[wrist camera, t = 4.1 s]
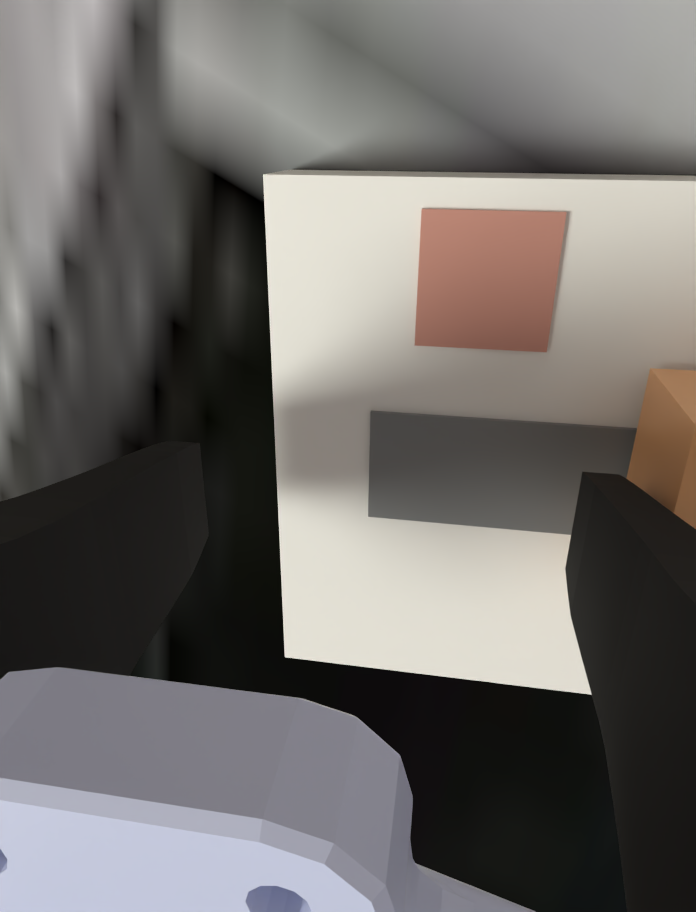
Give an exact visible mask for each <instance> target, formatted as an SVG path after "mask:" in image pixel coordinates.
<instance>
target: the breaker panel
mask: <svg viewBox="0 0 696 912" xmlns="http://www.w3.org/2000/svg"><path fill="white" fill-rule="evenodd" d="M263 182H264V204H265V226H266V249H267V271H268V293H269V315H270V337H271V359H272V381H273V404H274V426H275V448H276V470H277V492H278V514H279V537H280V559H281V581H282V603H283V625H284V647H285V657H288V658H296V659H304V660H313V661H321V662H329V663H337V664H345V665H354V666H362V667H370V668H378V669H386V670H395V671H403V672H411V673H419V674H427V675H436V676H444V677H452V678H460V679H468V680H477V681H485V682H493V683H501V684H509V685H518V686H526V687H534V688H542V689H550V690H559V691H567V692H575V693H583V694H591V690H590V686H589V683H588V679H587V675H586V672H585V668H584V664H583V661H582V657H581V653H580V650H579V646H578V642H577V638H576V635H575V631H574V627H573V623H572V619H571V615H570V607H569V599H568V591H567V581H566V572H565V567H566V561H567V555H568V550H569V544H570V539H571V533H572V527H573V522H574V516H575V510H576V505H577V499H578V494H579V488H580V482H581V477H582V472H594V473H607V474H619V475H621V476H623V477H625V478H627V474H628V469H629V464H630V460H631V455H632V450H633V446H634V441H635V436H636V432H637V427H638V422H639V418H640V413H641V408H642V404H643V399H644V394H645V390H646V385H647V380H648V376H649V371H650V368H656V369H675V370H693V371H696V176H689V175H621V174H553V173H485V172H416V171H348V170H286V171H280V172H274V173H268V174H263ZM591 695H592V694H591Z"/></svg>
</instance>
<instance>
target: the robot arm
mask: <svg viewBox="0 0 696 912" xmlns="http://www.w3.org/2000/svg"><path fill="white" fill-rule="evenodd" d="M208 536H209V531H208V521H207V512H206V502H205V492H204V482H203V472H202V463H201V453H200V443H191V442H177V441H167V442H162V443H159V444H155V445H152V446H149V447H147V448H144V449H141V450H139V451H136V452H133V453H131V454H128V455H126V456H124V457H121V458H119V459H116V460H114V461H111V462H109V463H106V464H104V465H101V466H99V467H97V468H94V469H92V470H89V471H87V472H84V473H82V474H79V475H76V476H74V477H71V478H68V479H66V480H63V481H60V482H57V483H55V484H52V485H49V486H47V487H44V488H41V489H39V490H36V491H33V492H30V493H27V494H24V495H21V496H18V497H15V498H11V499H8V500H5V501H1V502H0V912H535V911H533V910H530V909H528V908H525V907H523V906H520V905H518V904H515V903H513V902H510V901H508V900H505V899H503V898H500V897H498V896H495V895H493V894H490V893H488V892H485V891H483V890H480V889H478V888H475V887H473V886H470V885H468V884H465V883H463V882H460V881H458V880H455V879H453V878H450V877H448V876H445V875H443V874H440V873H438V872H435V871H433V870H430V869H428V868H425V867H423V866H420V865H418V864H415V862H414V860H413V858H412V851H411V843H410V833H411V818H412V804H413V796H412V793H411V789H410V786H409V783H408V780H407V776H406V773H405V770H404V767H403V763H402V760H401V757H400V755H399V754H398V753H397V752H396V751H395V750H394V749H392V748H391V747H390V746H389V745H388V744H387V743H386V742H384V741H383V740H382V739H381V738H380V737H379V736H378V735H377V734H375V733H374V732H373V731H372V730H371V729H370V728H369V727H367V726H366V725H365V724H364V723H363V722H362V721H361V720H359V719H358V718H357V717H355V716H353V715H350V714H347V713H344V712H341V711H338V710H335V709H332V708H329V707H326V706H323V705H320V704H317V703H314V702H311V701H308V700H305V699H302V698H295V697H287V696H279V695H272V694H264V693H256V692H248V691H241V690H233V689H225V688H217V687H210V686H202V685H194V684H187V683H179V682H171V681H163V680H156V679H148V678H140V677H132V676H130V674H131V672H132V670H133V668H134V667H135V665H136V663H137V662H138V660H139V659H140V657H141V655H142V654H143V652H144V651H145V649H146V648H147V646H148V644H149V643H150V641H151V640H152V638H153V636H154V635H155V633H156V632H157V630H158V629H159V627H160V625H161V624H162V622H163V621H164V619H165V618H166V616H167V614H168V613H169V611H170V610H171V608H172V607H173V605H174V603H175V602H176V600H177V598H178V597H179V595H180V594H181V592H182V590H183V589H184V587H185V586H186V584H187V582H188V580H189V579H190V577H191V575H192V573H193V571H194V569H195V567H196V564H197V562H198V560H199V558H200V555H201V553H202V550H203V548H204V545H205V543H206V540H207V538H208ZM565 572H566V581H567V591H568V599H569V607H570V615H571V619H572V623H573V627H574V631H575V635H576V638H577V642H578V646H579V650H580V653H581V657H582V661H583V664H584V668H585V672H586V675H587V679H588V683H589V686H590V690H591V694H592V697H593V701H594V705H595V708H596V712H597V716H598V719H599V723H600V728H601V732H602V737H603V741H604V746H605V751H606V758H607V765H608V771H609V778H610V784H611V791H612V797H613V804H614V811H615V819H616V826H617V833H618V841H619V848H620V856H621V863H622V871H623V880H624V888H625V897H626V906H627V912H696V529H695V528H694V527H692V526H691V525H689V524H688V523H686V522H685V521H684V520H682V519H681V518H680V517H678V516H677V515H675V514H674V513H673V512H671V511H670V510H669V509H667V508H666V507H665V506H663V505H662V504H661V503H659V502H658V501H657V500H655V499H654V498H653V497H651V496H650V495H649V494H647V493H646V492H645V491H643V490H642V489H640V488H639V487H638V486H636V485H635V484H634V483H632V482H631V481H629V480H628V479H626V478H625V477H623V476H621V475H619V474H607V473H594V472H582V477H581V482H580V488H579V494H578V499H577V505H576V510H575V516H574V522H573V527H572V533H571V539H570V544H569V550H568V555H567V561H566V567H565Z"/></svg>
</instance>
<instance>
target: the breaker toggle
mask: <svg viewBox="0 0 696 912" xmlns="http://www.w3.org/2000/svg"><path fill="white" fill-rule="evenodd" d="M626 479H628V480H629V481H631V482H632V483H634V484H635V485H636V486H638V487H639V488H640V489H642V490H643V491H645V492H646V493H647V494H649V495H650V496H651V497H653V498H654V499H655V500H657V501H658V502H659V503H661V504H662V505H663V506H665V507H666V508H667V509H669V510H670V511H671V512H673V513H674V514H675V515H677V516H678V517H680V518H681V519H682V520H684V521H685V522H686V523H688V524H689V525H691V526H692V527H694V528H695V529H696V371H693V370H675V369H656V368H650V371H649V376H648V380H647V385H646V390H645V394H644V399H643V404H642V408H641V413H640V418H639V422H638V427H637V432H636V436H635V441H634V446H633V450H632V455H631V460H630V464H629V469H628V474H627V478H626Z"/></svg>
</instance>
